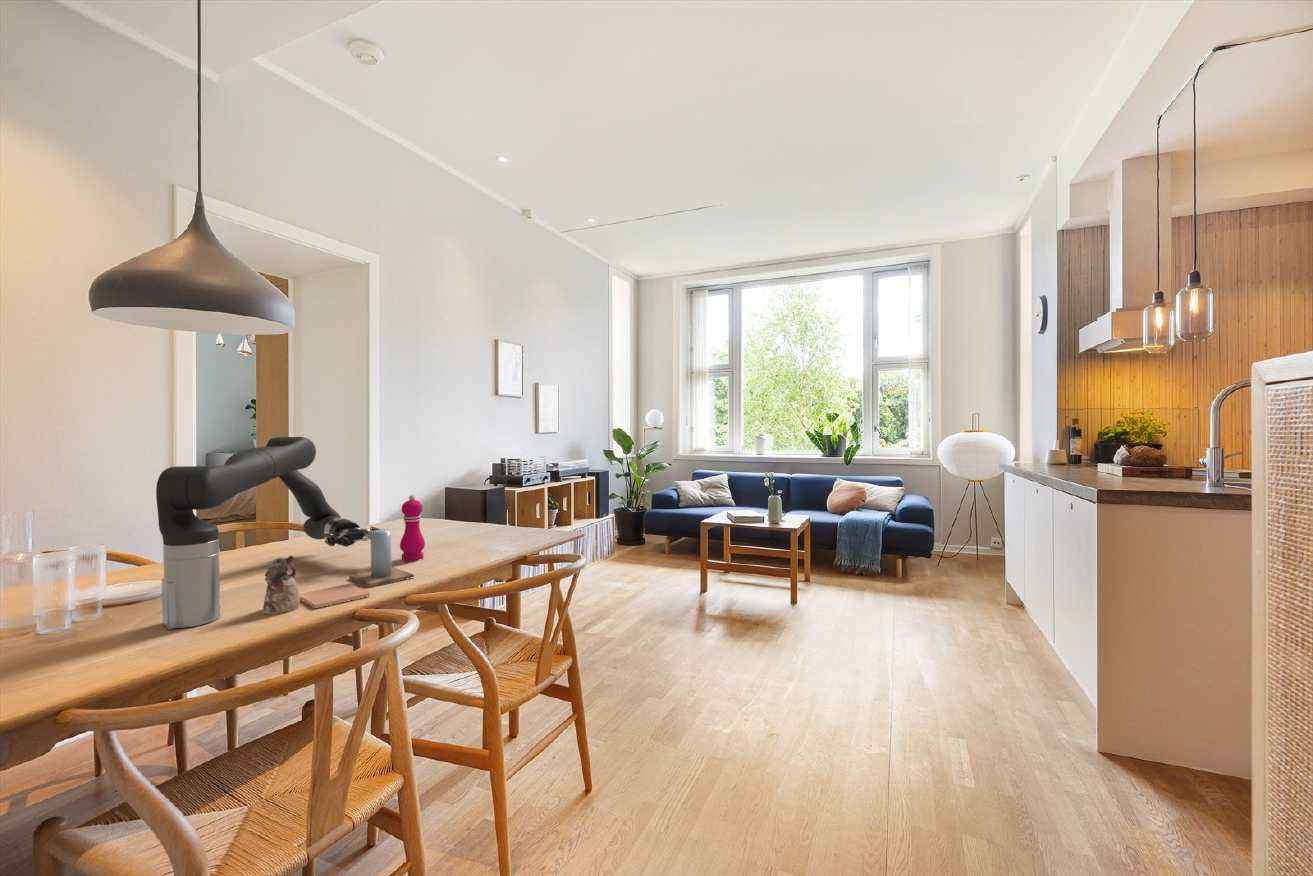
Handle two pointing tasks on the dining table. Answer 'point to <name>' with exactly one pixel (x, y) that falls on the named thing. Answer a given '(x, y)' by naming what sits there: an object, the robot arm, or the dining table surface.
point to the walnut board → (371, 581)
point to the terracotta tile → (333, 595)
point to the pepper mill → (412, 531)
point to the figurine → (281, 587)
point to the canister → (380, 553)
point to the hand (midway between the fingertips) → (363, 540)
